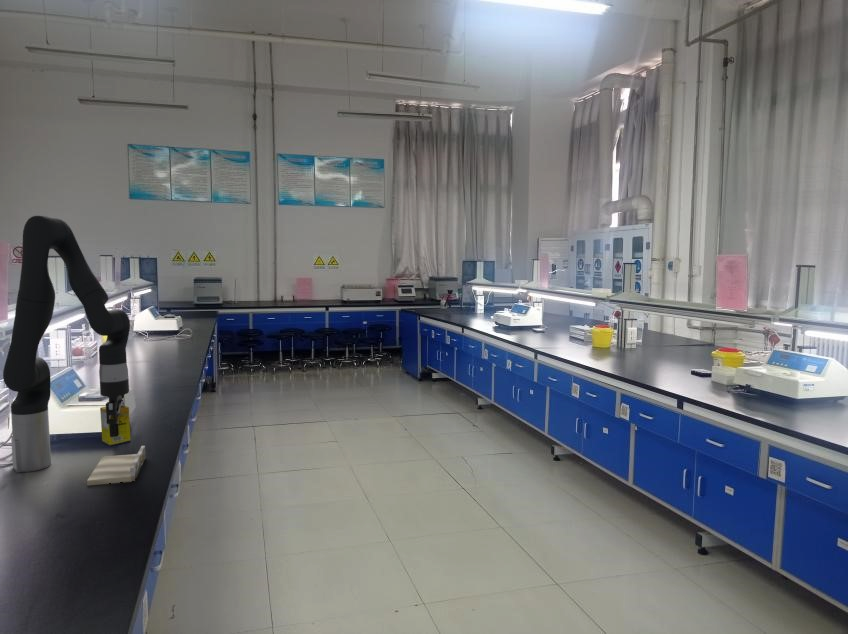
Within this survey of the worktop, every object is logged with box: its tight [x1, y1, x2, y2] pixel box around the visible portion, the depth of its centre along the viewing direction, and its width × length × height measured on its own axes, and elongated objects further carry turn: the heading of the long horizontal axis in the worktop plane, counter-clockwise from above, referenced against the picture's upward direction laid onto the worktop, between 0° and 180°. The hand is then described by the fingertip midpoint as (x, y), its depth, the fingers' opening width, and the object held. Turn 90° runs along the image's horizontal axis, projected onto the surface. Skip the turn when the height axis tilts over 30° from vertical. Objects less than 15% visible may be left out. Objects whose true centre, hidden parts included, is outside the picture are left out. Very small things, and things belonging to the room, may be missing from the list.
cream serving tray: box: [86, 445, 146, 486], centre depth 177 cm, size 20×12×4 cm, turn 17°
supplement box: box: [99, 405, 132, 448], centre depth 175 cm, size 6×6×11 cm
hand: (117, 432), depth 176 cm, fingers closed on supplement box, 8 cm apart
